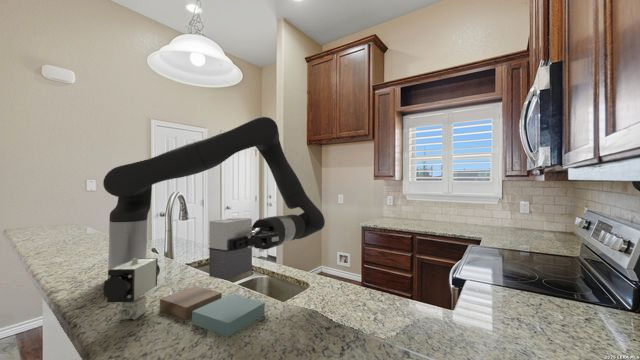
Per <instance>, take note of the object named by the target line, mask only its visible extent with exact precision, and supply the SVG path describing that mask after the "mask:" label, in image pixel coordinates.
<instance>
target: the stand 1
mask: <svg viewBox="0 0 640 360" xmlns="http://www.w3.org/2000/svg"><path fill="white" fill-rule="evenodd" d="M221 298H222V292H220V291H216V290H212V289H209V288H205V287H201V286H199V285H198V286H197V285H195V286H192V287H190V288H186V289H184V290H181V291H178V292H176V293H172V294H170V295H167V296H164V297H161V298H160V299H159V311H161V312H164V313H166V314H169V315H172V316H174V317H176V318H180V319H183V320H185V321H187V320H189V319H192V311H194V310H196V309H198V308H200V307H203V306H205V305H207V304H209V303H212V302H214V301H216V300H218V299H221Z"/></svg>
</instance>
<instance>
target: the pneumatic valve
mask: <svg viewBox="0 0 640 360" xmlns="http://www.w3.org/2000/svg"><path fill="white" fill-rule="evenodd" d="M158 260H159V259H158V258H155V257H154V258H147V259H138V258H134V259H132V261H130V262H127V263H125V264H121V265H120V266H119V265H118V266H116V267H115V268H113V269H110V270H108V269H107V279H105V280H104V282H103V283H104V284H103V287H102V290H103V291H102V292H103V297H104V298H105V297H106V302H107V303H109V304H110V303H120V305H119V307H120V308H121V309H120V311H119V320H120V321H124V320H131V319H132V320H133V321H135V320H137V319H139V318H140V317H141V316H143V315H144V314H145V313H146V312H147V308H146V307H147V306H146V305H147V296H144V295H146V293H149V291H151V290H153V289H154V288H156V287H158V276H159V275H160V272H161V268H160V266H159V263H158V262H159V261H158ZM142 296H143V297H142Z"/></svg>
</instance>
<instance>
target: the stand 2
mask: <svg viewBox="0 0 640 360" xmlns="http://www.w3.org/2000/svg"><path fill="white" fill-rule="evenodd" d="M265 307H266V304H265V302H263V301H259V300H255V299H251V298H248V297H244V296H240V295H237V294H231V293H229V294H228V295H227V294H226V296H223V297H221V299H218V300H216V301H214V302H212V303H209V304H207V305H205V306H203V307H200V308H198V309H196V310H194V311H192V317H191V324H192V325H194V326H196V327H200V328H202V329H204V330H208V331H210V332H213V333H215V334H217V335H220V336H224V337H227V338H229V337H231V336H233V335H235V334H236V333H238V332H239V331H241V330H242V329H244V328H245V327H247V326H249V325H250V324H252V323H254V322H255V321H256V320H259V319H261V318H262V317H263V316H265V314H266V313H265V312H266V311H265Z"/></svg>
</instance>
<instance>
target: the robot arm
mask: <svg viewBox="0 0 640 360" xmlns="http://www.w3.org/2000/svg"><path fill="white" fill-rule="evenodd" d="M253 147H255V148H256V149H257V150H258V152H259V153H260V154H261V156H262V157H263V159H264V160H265V162H266V163H267V165H268V167H269V169H270V172H271V174H272V177H273V179H274V181H275V182H274V183H275V184H276V187H277V189H278V190H279V193H280V195H281V197H282V199H283V201H284V203H285V205H286V207H287V208H288V209H290V210H293V209H297V208H299V209H301V210H302V211H303V212H302V213H300V214H298V215H297V214H286V215H275V216H274V215H273V216H269V217H263V218H262V217H261V218H258V219H257V220H256V221H254V223H252V232H251V234H250V235H247V236H246V237H244V236H243V237H239V238H235V239H231V240H230V250H231V251H235V250H239V249H242V248H252V249H253V248H254V249H260V250H263V251H264V250H266V251H267V250H269V249H273V248H275V247H276V248H277V247H279V246H282V245H285V244H287V243H288V242H291V241H294V240H302V239H305V238H307V237H309V236H311V235H313V234H315V233H317V232H319V231H321V230H323V228H324V227H325V223H326V221H325V220H326V219H325V216H324V214H323V212H322V211H321V210H320V209H319V208H318V207H317V206H316V205H315V203H314V202H313V201H312V200H311V199H310V198H309V196H308V194H306V192H305V189H304V187H303V185H302V183H301V182H300V179H299V178H298V175H297V174H296V172H295V171H294V169H293V168H292V166H291V165H290V162H289V161H288V160H287V157H286V156H285V153H284V151H283V147H282V145H281V142H280V132H279V127H278V125H277V122H276V121H275V120H274V119H272V118H271V117H267V116H258V117H255V118H253V119H251V120H248V121H246V122H244V123H242V124H240V125H238V126H236V127H233V128H231V129H229V130H226V131H223V132H220V133H216V134H213V135H211V136H208V137H205V138H202V139H198V140H195V141H193V142H190V143H187V144H184V145H182V146H178V147H176V148H173V149H170V150H168V151H166V152H163V153H160V154H158V155H157V156H153V157H150V158H148V159H143V160H140V161H135V162H131V163H128V164H127V163H126V164H123V165H118V166H115V167H113V168H111V169H110V170H109V171H108V172H107V173H106V174H105V176H104V177H103V182H102V183H103V184H102V186H103V188H104V190H105V191H106V193H108V194H110V195H111V196H114V197H116V198H117V203H116V206H115V207H114V208H113V209H112V210H111V211H110V213H109V219H108V220H109V222H108V223H109V225H108V255H107V257H108V258H107V263H108V265H107V271H108V270H110V269H113V268H115V267H116V266H118V265H119V266H120V265H121V264H125V263H127V262H130V261H132V259H134V258H138V259H148V258H147V255H148V254H147V253H148V250H147V249H148V217H149V216H148V215H149V212H150V210H151V206H152V205H151V204H152V193H153V192H152V189H153V185H155V184H159V183H161V182H164V181H168V180H174V179H181V178H184V177H190V176H193V175H197V174H201V173H202V172H205V171H208V170H211V169H213V168H215V167H217V166H219V165H220V164H222V163H224V162H225V161H226V160H228V159H229V158H231V157H232V156H233V155H235V154H237V153H239V152H242V151H244V150H248V149H251V148H253Z"/></svg>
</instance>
